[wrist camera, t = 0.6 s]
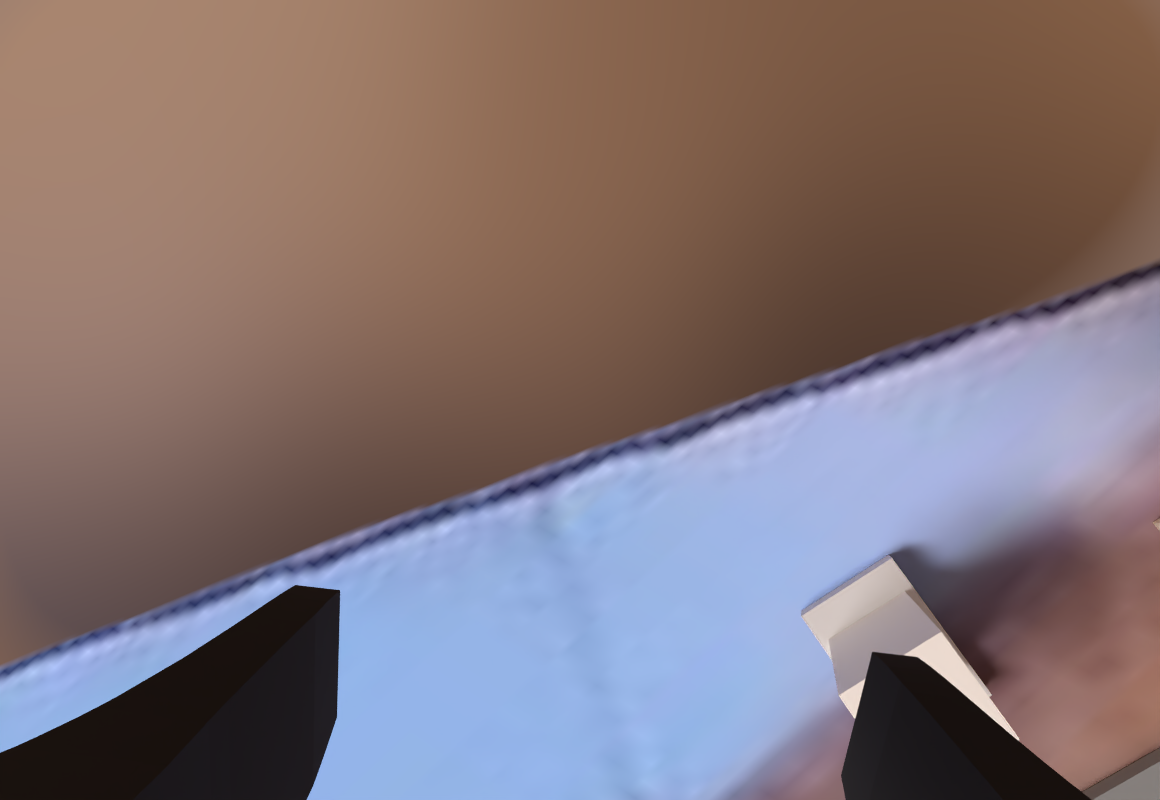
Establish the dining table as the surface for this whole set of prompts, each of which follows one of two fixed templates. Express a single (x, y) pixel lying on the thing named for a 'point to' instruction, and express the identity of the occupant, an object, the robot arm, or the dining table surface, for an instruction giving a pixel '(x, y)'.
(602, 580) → the dining table surface
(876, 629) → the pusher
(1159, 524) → the wooden block
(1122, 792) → the slate mat
